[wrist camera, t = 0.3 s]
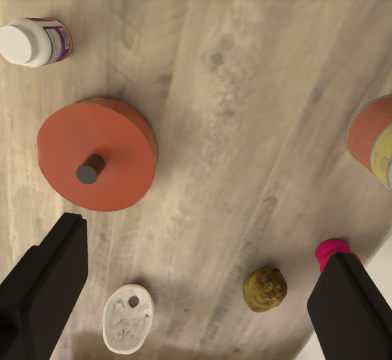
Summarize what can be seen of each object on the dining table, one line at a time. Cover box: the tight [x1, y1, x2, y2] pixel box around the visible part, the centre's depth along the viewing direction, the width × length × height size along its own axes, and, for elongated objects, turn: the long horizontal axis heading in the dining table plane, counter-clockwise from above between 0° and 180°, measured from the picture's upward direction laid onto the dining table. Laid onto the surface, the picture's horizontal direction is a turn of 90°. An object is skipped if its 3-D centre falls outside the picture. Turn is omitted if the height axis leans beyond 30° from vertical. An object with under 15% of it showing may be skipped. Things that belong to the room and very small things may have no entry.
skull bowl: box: [103, 284, 155, 354], centre depth 64 cm, size 10×14×12 cm
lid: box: [36, 103, 155, 212], centre depth 41 cm, size 18×18×5 cm
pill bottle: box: [0, 18, 72, 67], centre depth 36 cm, size 5×5×10 cm
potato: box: [243, 267, 287, 312], centre depth 58 cm, size 8×13×8 cm, turn 152°
